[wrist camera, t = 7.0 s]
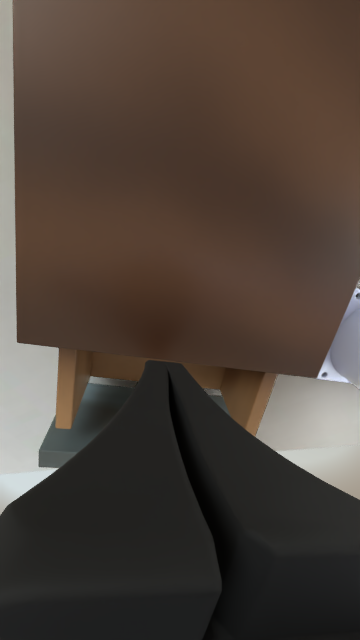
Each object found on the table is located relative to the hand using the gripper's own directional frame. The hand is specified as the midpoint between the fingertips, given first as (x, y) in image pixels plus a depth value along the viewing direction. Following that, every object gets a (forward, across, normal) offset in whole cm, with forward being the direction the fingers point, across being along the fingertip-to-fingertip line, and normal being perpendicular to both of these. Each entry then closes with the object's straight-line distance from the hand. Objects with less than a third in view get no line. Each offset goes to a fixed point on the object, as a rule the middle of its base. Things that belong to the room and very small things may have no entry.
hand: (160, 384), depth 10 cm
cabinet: (+10, -1, -7) cm, 12 cm away
